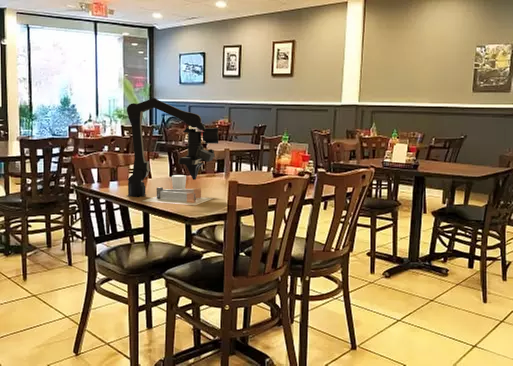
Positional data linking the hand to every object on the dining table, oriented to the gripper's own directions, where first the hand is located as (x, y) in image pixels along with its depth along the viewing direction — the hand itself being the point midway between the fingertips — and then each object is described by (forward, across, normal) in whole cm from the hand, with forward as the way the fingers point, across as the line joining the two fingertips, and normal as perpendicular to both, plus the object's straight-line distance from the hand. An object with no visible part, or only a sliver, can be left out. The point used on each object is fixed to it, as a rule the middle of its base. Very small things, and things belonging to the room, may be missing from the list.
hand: (194, 179), depth 223 cm
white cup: (+8, +15, +15) cm, 22 cm away
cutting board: (+8, -11, +2) cm, 14 cm away
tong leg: (+7, -8, +3) cm, 11 cm away
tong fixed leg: (+7, -15, 0) cm, 16 cm away
